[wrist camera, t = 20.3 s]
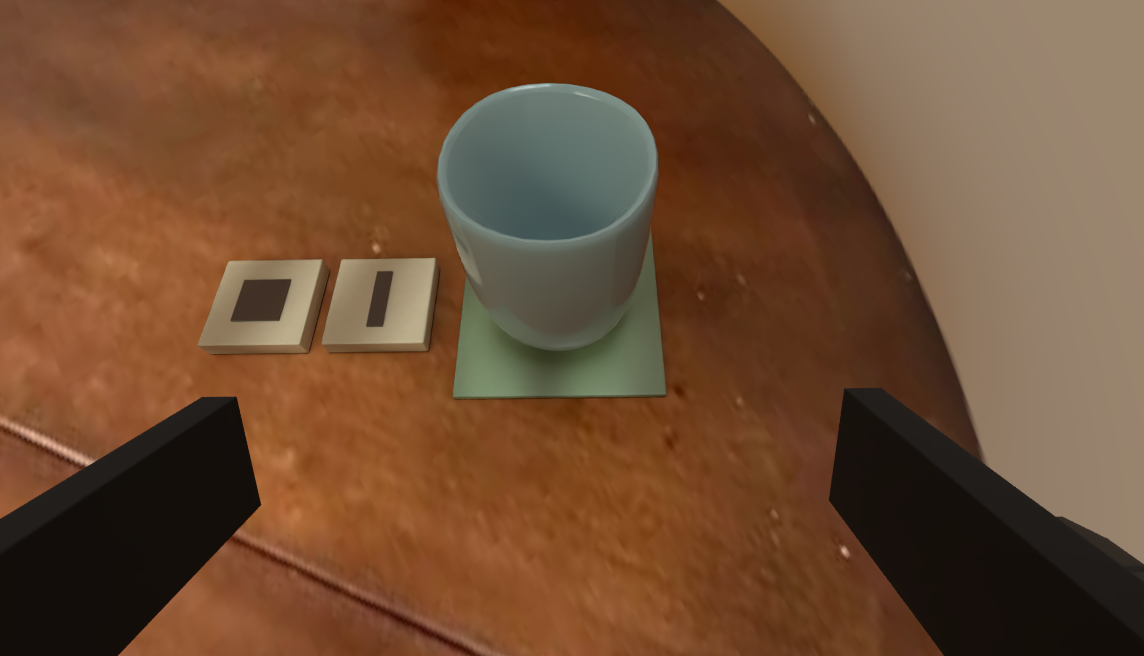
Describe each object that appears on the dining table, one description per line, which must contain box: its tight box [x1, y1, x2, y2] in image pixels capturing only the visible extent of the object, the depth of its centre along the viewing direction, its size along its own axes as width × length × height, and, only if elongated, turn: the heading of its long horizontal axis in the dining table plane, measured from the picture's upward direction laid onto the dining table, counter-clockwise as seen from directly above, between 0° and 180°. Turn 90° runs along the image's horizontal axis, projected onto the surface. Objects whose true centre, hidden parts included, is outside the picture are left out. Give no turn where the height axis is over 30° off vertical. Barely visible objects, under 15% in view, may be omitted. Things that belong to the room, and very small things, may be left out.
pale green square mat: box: [198, 230, 666, 399], centre depth 27 cm, size 22×10×1 cm, turn 90°
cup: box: [437, 83, 659, 351], centre depth 22 cm, size 8×8×10 cm
